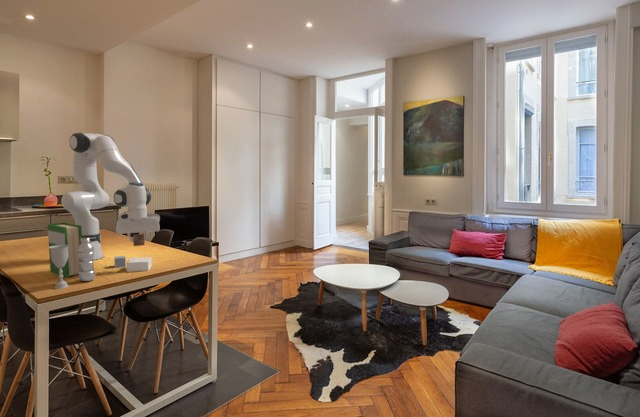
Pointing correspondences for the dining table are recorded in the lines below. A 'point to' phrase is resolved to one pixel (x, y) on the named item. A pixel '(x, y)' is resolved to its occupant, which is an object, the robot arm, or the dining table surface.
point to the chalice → (60, 262)
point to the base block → (139, 264)
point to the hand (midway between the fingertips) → (138, 241)
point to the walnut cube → (138, 240)
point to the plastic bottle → (86, 260)
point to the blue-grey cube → (119, 261)
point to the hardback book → (65, 236)
